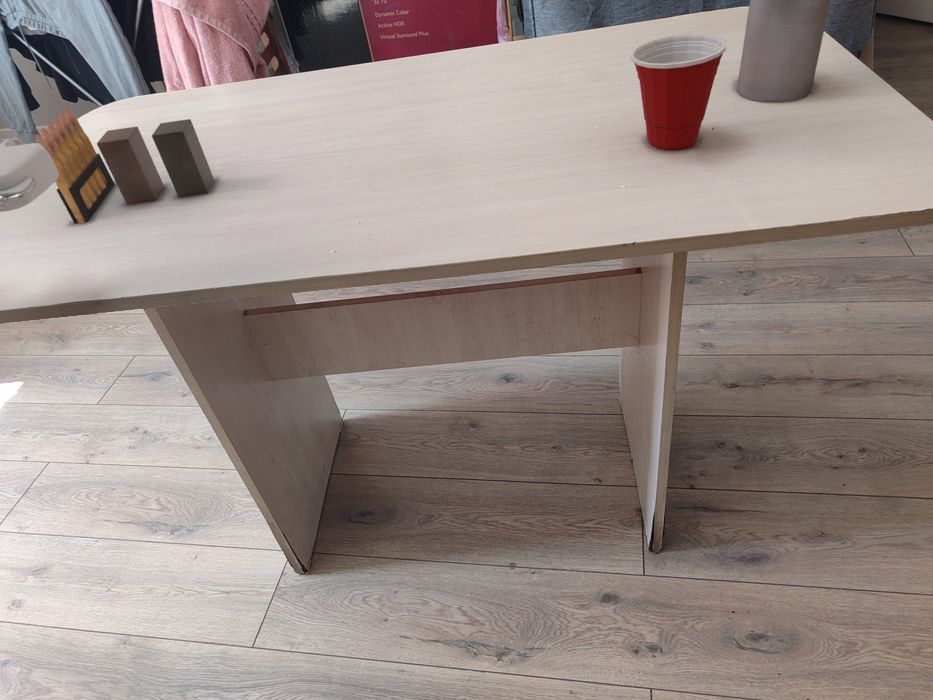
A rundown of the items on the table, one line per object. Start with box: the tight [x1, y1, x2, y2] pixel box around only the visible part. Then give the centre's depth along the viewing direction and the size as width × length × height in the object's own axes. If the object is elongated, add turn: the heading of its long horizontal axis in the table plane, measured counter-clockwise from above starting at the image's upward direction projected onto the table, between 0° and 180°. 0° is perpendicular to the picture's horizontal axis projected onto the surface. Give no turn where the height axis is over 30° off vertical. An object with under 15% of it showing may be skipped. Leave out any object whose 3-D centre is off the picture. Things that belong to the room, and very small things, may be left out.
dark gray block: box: [151, 118, 215, 199], centre depth 88 cm, size 4×4×9 cm
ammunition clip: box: [35, 105, 116, 224], centre depth 88 cm, size 11×2×12 cm, turn 4°
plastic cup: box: [629, 33, 728, 152], centre depth 82 cm, size 11×11×12 cm
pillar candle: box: [736, 0, 832, 103], centre depth 90 cm, size 10×10×15 cm
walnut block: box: [96, 126, 165, 206], centre depth 89 cm, size 4×4×9 cm
